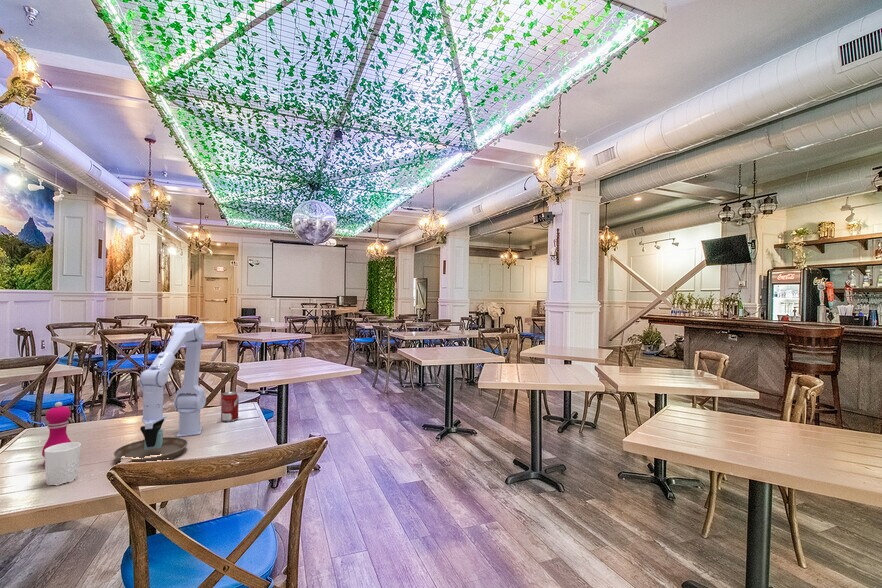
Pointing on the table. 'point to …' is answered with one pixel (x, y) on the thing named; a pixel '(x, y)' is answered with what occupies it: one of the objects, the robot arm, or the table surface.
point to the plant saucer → (152, 450)
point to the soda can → (229, 406)
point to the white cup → (62, 462)
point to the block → (158, 441)
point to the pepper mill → (57, 426)
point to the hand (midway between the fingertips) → (152, 443)
